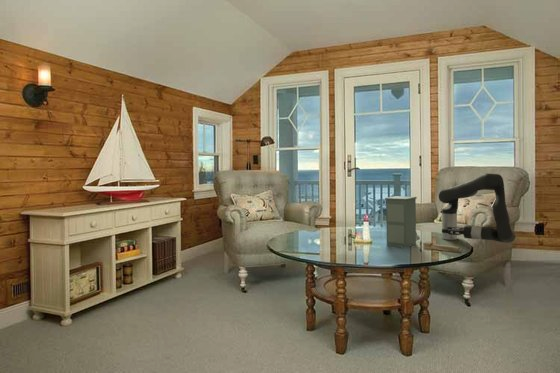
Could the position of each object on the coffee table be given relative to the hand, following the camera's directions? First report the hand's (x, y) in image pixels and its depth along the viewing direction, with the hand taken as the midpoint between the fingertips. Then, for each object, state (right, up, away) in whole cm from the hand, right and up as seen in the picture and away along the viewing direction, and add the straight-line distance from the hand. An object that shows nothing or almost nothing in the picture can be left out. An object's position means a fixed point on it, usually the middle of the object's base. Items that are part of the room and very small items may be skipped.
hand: (444, 229), depth 243 cm
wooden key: (-1, -12, +2) cm, 12 cm away
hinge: (-11, -11, +35) cm, 38 cm away
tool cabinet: (-20, -11, +19) cm, 30 cm away
